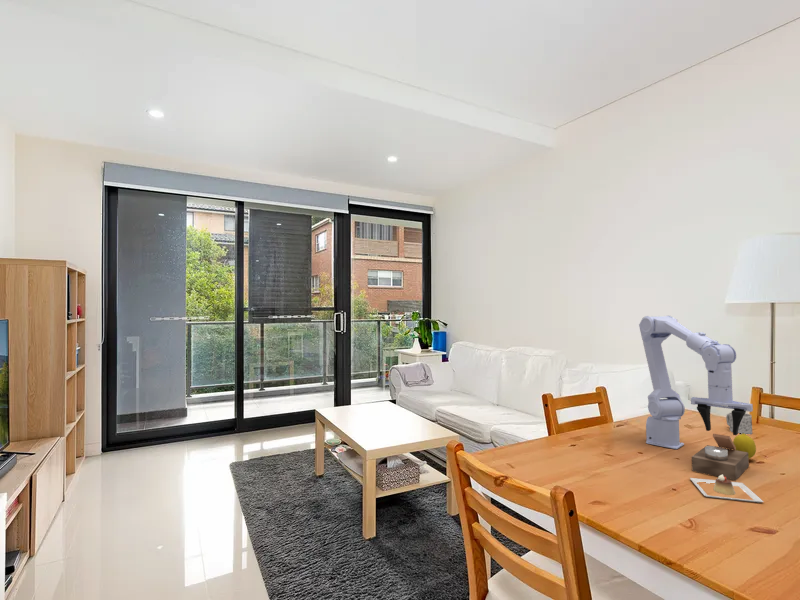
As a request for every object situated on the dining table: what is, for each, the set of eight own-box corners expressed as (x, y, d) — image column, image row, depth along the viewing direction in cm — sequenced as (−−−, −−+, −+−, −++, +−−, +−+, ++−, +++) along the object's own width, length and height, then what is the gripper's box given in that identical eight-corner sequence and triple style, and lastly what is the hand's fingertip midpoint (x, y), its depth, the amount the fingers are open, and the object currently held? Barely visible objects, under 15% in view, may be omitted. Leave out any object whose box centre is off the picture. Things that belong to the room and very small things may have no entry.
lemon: (760, 463, 128) (759, 436, 128) (739, 462, 129) (738, 435, 130) (749, 457, 134) (748, 431, 134) (729, 456, 135) (728, 430, 135)
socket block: (692, 470, 123) (691, 456, 123) (707, 458, 134) (707, 445, 134) (735, 480, 115) (735, 465, 116) (748, 466, 126) (748, 452, 126)
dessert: (742, 487, 113) (742, 468, 113) (764, 506, 101) (763, 486, 102) (689, 481, 117) (688, 463, 117) (704, 500, 105) (703, 480, 105)
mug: (757, 434, 158) (756, 416, 158) (738, 434, 158) (738, 416, 159) (736, 427, 168) (735, 410, 168) (719, 427, 168) (718, 410, 169)
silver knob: (703, 470, 122) (702, 448, 122) (708, 465, 126) (707, 444, 126) (725, 475, 118) (725, 453, 118) (730, 470, 122) (729, 448, 122)
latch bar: (719, 447, 131) (719, 444, 132) (735, 450, 128) (735, 447, 129) (712, 436, 127) (713, 433, 128) (729, 438, 124) (729, 436, 125)
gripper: (687, 384, 130) (688, 430, 129) (748, 390, 119) (750, 440, 118) (694, 381, 134) (695, 425, 134) (753, 387, 124) (755, 435, 123)
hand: (721, 432), depth 126 cm, fingers open, 6 cm apart
